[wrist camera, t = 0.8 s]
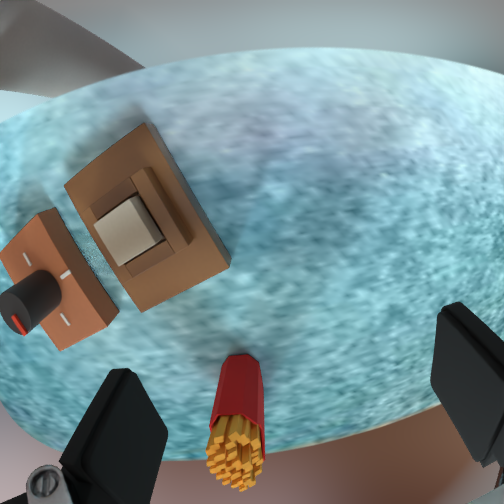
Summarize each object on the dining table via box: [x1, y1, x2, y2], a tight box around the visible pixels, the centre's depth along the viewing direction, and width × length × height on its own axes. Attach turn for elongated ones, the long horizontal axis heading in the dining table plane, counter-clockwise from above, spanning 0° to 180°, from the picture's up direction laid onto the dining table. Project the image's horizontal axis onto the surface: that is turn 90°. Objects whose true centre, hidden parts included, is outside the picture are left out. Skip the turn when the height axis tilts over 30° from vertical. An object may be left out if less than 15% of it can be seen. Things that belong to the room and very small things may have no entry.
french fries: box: [206, 354, 265, 492], centre depth 25 cm, size 8×4×12 cm, turn 8°
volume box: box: [0, 208, 119, 351], centre depth 26 cm, size 12×8×3 cm
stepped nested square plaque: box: [64, 122, 232, 313], centre depth 24 cm, size 13×9×4 cm
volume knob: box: [0, 270, 62, 336], centre depth 22 cm, size 4×4×6 cm
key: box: [94, 196, 163, 266], centre depth 21 cm, size 4×4×2 cm
